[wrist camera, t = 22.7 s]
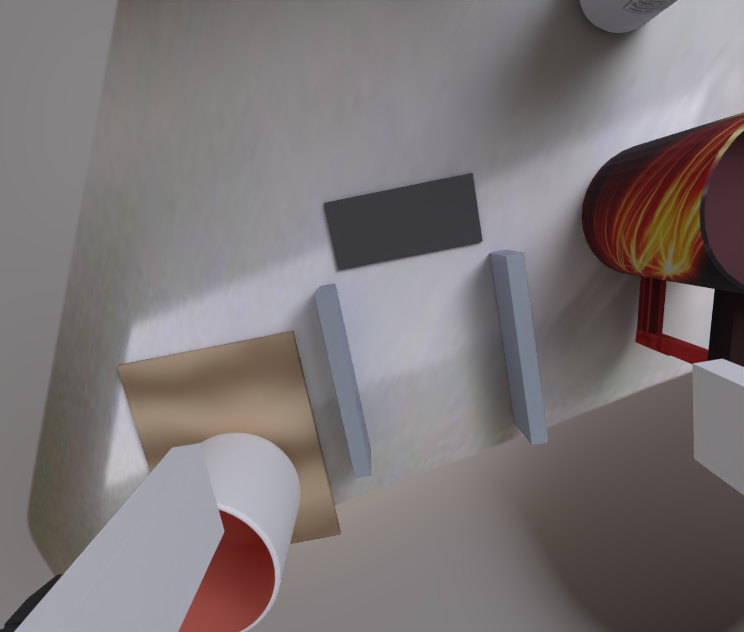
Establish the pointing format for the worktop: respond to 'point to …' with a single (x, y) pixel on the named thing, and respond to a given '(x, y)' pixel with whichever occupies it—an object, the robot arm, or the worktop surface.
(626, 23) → the energy drink can
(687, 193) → the mug
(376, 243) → the mat
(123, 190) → the worktop surface
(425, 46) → the worktop surface
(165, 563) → the robot arm
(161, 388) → the plate
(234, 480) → the cup
